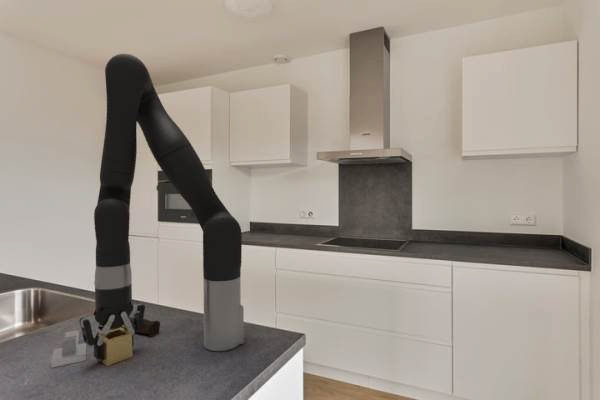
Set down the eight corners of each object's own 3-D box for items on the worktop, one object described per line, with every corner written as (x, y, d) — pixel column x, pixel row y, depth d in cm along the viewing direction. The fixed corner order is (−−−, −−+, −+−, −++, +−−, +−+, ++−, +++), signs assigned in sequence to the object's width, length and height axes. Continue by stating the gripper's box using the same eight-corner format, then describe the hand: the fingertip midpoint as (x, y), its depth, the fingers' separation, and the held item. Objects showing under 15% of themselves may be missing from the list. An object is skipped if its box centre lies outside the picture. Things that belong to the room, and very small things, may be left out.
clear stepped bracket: (86, 333, 93) (86, 316, 93) (85, 360, 79) (85, 340, 78) (58, 338, 90) (57, 321, 90) (51, 367, 75) (50, 347, 75)
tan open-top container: (121, 349, 84) (121, 327, 84) (132, 356, 80) (132, 333, 80) (96, 358, 80) (96, 334, 79) (107, 366, 76) (106, 341, 76)
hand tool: (161, 333, 94) (161, 316, 94) (149, 339, 90) (149, 321, 90) (112, 323, 101) (112, 307, 101) (99, 328, 98) (99, 311, 98)
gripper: (85, 293, 72) (86, 373, 72) (151, 279, 83) (152, 348, 83) (72, 287, 76) (73, 361, 77) (136, 274, 87) (137, 339, 88)
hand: (114, 354), depth 80 cm, fingers closed on tan open-top container, 5 cm apart
